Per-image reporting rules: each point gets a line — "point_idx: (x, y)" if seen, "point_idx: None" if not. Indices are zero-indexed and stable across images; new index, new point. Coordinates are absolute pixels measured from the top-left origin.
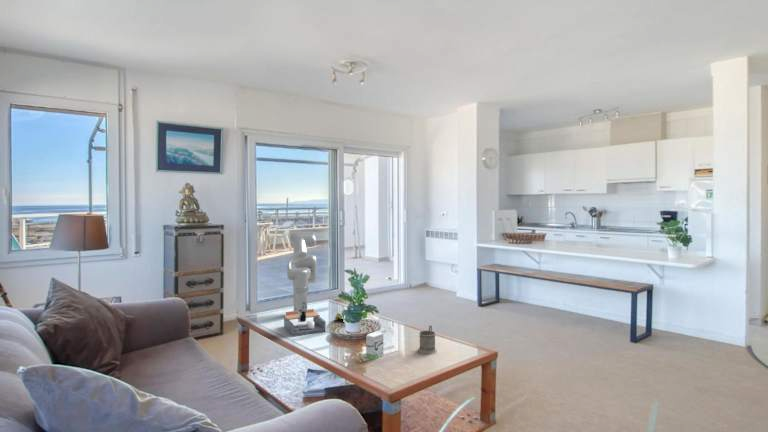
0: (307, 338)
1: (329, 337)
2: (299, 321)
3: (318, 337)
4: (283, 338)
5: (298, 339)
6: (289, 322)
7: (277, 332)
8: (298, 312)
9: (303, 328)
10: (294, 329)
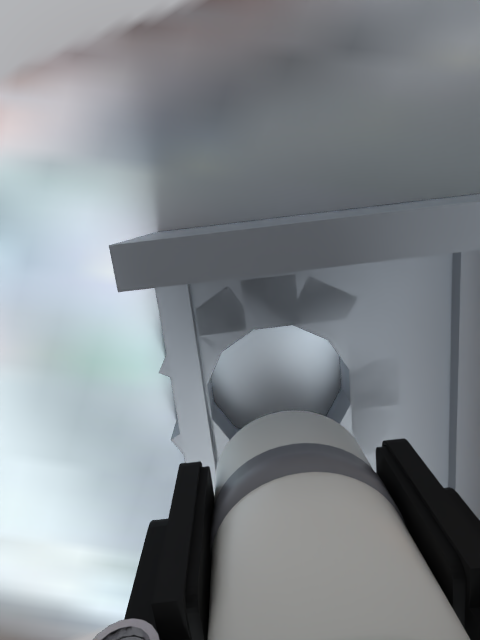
0: (24, 409)
1: (9, 620)
2: (244, 434)
3: (35, 525)
4: (104, 88)
5: (6, 297)
6: (392, 213)
7: (462, 19)
8: (316, 616)
9: (370, 423)
10: (374, 295)
